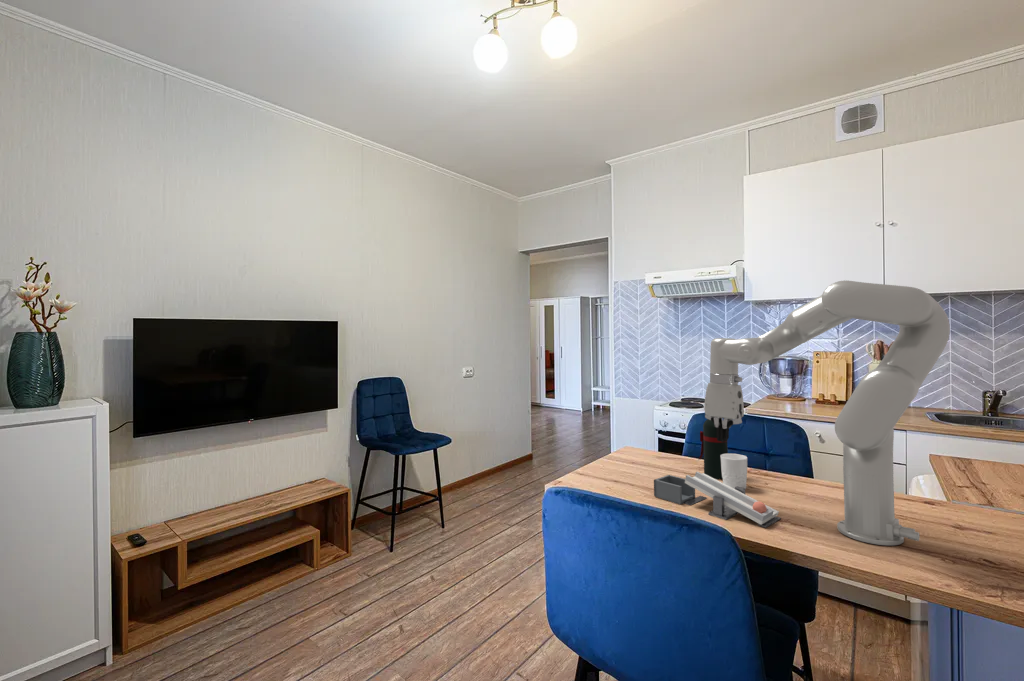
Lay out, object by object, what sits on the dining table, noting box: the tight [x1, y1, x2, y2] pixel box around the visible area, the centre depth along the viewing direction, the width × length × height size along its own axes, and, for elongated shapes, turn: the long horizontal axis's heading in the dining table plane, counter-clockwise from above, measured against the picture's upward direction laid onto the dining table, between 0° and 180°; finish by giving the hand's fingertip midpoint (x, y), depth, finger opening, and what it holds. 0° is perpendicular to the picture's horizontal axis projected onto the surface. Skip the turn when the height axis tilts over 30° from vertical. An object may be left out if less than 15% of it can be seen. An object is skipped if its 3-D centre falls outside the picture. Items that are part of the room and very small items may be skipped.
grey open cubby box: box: [653, 474, 696, 506], centre depth 136 cm, size 9×8×5 cm
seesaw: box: [684, 471, 780, 525], centre depth 125 cm, size 22×10×2 cm, turn 38°
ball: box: [753, 500, 766, 514], centre depth 117 cm, size 3×3×3 cm
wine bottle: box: [698, 418, 729, 480], centre depth 158 cm, size 8×10×30 cm
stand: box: [683, 486, 782, 529], centre depth 125 cm, size 23×14×5 cm, turn 37°
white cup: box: [720, 453, 748, 490], centre depth 145 cm, size 8×8×10 cm
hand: (722, 440), depth 133 cm, fingers closed
